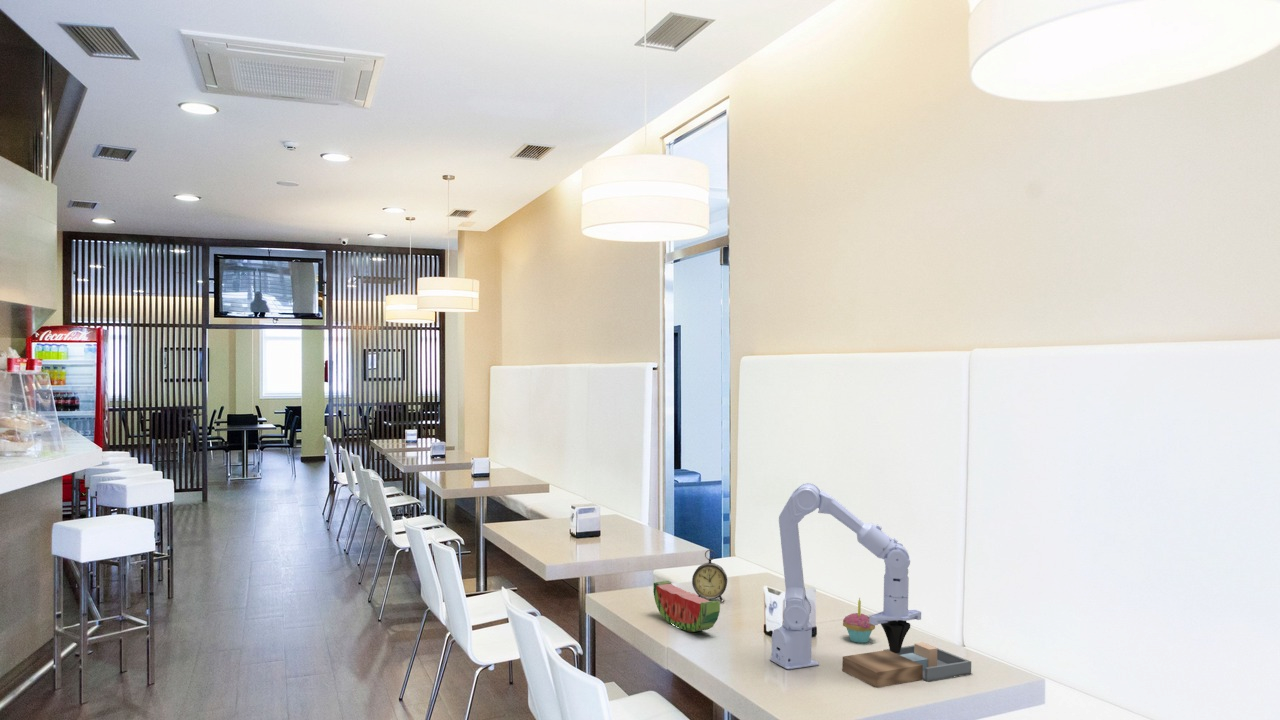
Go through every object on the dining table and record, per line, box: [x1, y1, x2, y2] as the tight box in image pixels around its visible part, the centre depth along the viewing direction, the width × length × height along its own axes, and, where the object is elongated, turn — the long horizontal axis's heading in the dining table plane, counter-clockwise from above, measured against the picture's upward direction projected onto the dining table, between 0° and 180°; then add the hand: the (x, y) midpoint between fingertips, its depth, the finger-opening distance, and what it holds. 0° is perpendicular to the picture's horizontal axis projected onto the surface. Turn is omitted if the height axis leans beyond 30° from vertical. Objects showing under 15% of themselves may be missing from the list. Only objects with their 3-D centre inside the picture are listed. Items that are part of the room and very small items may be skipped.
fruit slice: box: [652, 580, 721, 633], centre depth 234 cm, size 26×6×10 cm, turn 31°
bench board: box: [841, 649, 923, 688], centre depth 198 cm, size 14×12×3 cm
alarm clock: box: [691, 549, 728, 601], centre depth 263 cm, size 11×5×16 cm, turn 81°
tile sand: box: [913, 642, 938, 667], centre depth 203 cm, size 5×5×3 cm
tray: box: [884, 644, 972, 682], centre depth 203 cm, size 14×15×3 cm
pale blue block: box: [901, 653, 928, 670], centre depth 202 cm, size 5×5×3 cm
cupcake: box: [842, 597, 876, 644], centre depth 225 cm, size 9×8×12 cm
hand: (894, 651), depth 199 cm, fingers closed
